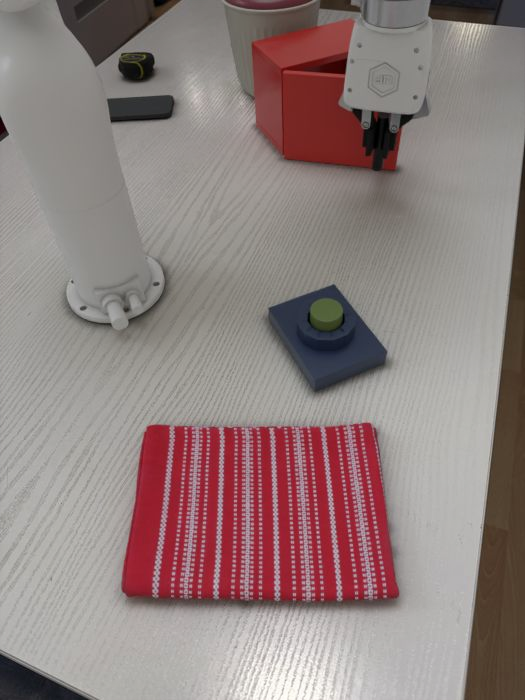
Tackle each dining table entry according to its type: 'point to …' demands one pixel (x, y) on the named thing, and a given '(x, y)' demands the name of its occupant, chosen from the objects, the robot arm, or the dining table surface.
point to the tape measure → (136, 64)
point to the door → (328, 124)
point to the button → (326, 315)
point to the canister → (263, 27)
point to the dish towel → (260, 515)
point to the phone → (140, 107)
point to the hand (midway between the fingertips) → (378, 151)
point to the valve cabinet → (294, 68)
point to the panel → (326, 340)
